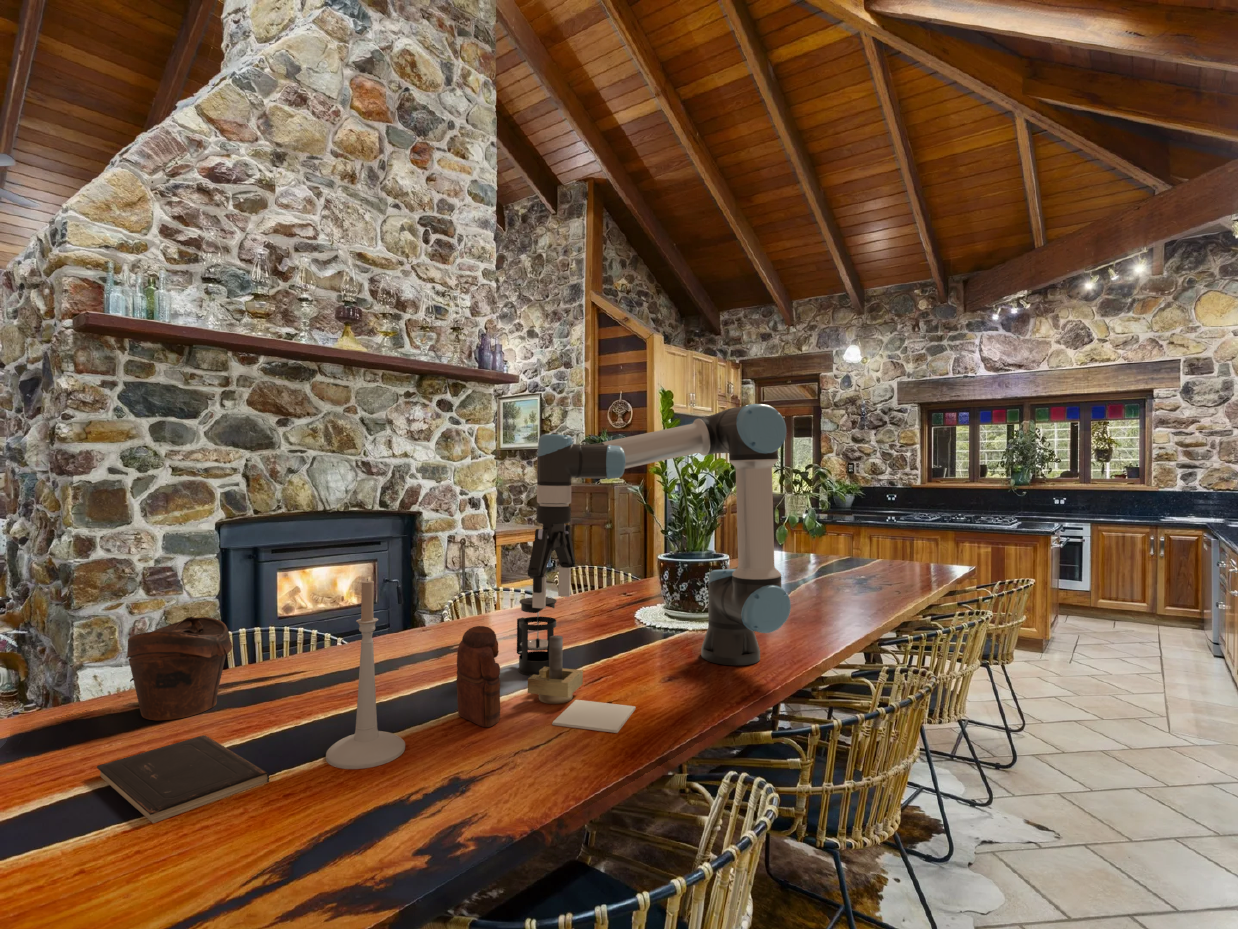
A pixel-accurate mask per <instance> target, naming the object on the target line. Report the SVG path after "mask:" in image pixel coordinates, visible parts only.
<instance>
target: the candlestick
mask: <svg viewBox="0 0 1238 929" xmlns="http://www.w3.org/2000/svg"><path fill="white" fill-rule="evenodd" d="M374 584H375V582H374V580H369V579H368V578H367V579H366V580H363V581H361V591H360V592H361V593H360V594H361V598H360V599H361V600H360V601H361V604H360V607H361V610H360V611H361V612H360V614H361V617H360V618H359V619H357V620H356V621H355V622H357V623H358V625H359V627H358V630H359V632H360V633H361V637H362V638H361V641H360V655H359V672H358V673H359V674H358V687H357V688H358V689H357V700H356V703H357V704H356V705H357V706H356V718H355V719H356V720H355V730H354V734H351V735H347V736H345V737H343V738H341V739H339V740H337V741H336V742H335V743H333V744H332V745H331V746H330V747H329V748H328V749H327V750H326V752H325V760H326V763H327V764H328V765H330V766H331V767H335V768H338V769H343V770H344V769H345V770H359V769H369V768H374V767H378V766H382V765H385V764H387V763H390V762H393V761H394V760H396V759H397V758H399V757H400V756H402V754H404V752H405V750H406V742H405V740H404V739H403V738H402V737H400V736H399V735H397V734H395V733H393V732H389V731H382V730H379V729H378V718H377V717H378V716H377V701H376V700H377V697H376V695H377V694H376V693H377V692H376V677H375V676H376V674H375V654H374V653H375V651H374V650H375V649H374V640H373V633H374V631H375V630H376V622H378V621H379V618H377V617H374V599H375V598H374V597H375V596H374V595H375V594H374V592H375V591H374V590H375V586H374Z"/></svg>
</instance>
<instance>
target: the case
mask: <svg viewBox="0 0 1238 929" xmlns="http://www.w3.org/2000/svg"><path fill="white" fill-rule="evenodd" d="M126 650H127V651H126V652H127V653H126V659H128V662H129V667H130V672H131V675H132V678H130V681H129V682H130V683H131V682H132V681H133V684H134V688H135V689H134V690H135V694H136V698H137V702H138V705H139V711H140V715H141V718H143V719H146V720H148V721H156V722H157V721H170V720H171V721H172V720H179V719H183V718H188V717H192V716H195V715H198V714H201V713H204V712H206V711H208V710H210V709H212V708H214V707H215V706H216V705H217V702H218V693H219V688H220V683H221V678H222V675H223V669H224V665H225V660H226V657H227V656H226V655H228V654H229V653H231V651H232V650H233V643H232V640H231V637H230V632H229V628H228V627H227V625H226V624H225V622H223V621H221V620H219V619H217V618H213V617H208V616H205V617H203V616H202V617H195V616H189V617H186V618H184V619H182V620H181V621H176V622H174V623H171V624H169V625H165V626H163V627H160V628H159V627H158V628H157V629H155V630H151V631H147V632H142V633H138V634H135V635H132V636H130V637H128V638H127V649H126Z"/></svg>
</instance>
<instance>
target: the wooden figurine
mask: <svg viewBox="0 0 1238 929" xmlns="http://www.w3.org/2000/svg"><path fill="white" fill-rule="evenodd" d="M499 652H500V650H499V641H498V639H497V634H496V633H495V631H494V630H493V629H492V628H491V627H490V626H485V625H476V626H473V627H470V628H469V629H467V630H466V631H465V632H464V633H463V635H462V637H461V641H460V642H459V645H458V647H457V652H456V653H457V654H456V655H457V656H456V668H457V670H456V692H457V694H456V696H457V699H456V700H457V701H456V702H457V714H458V715H459V717H461V718H462V719H464V720H467V721H469V722H471V723H474V724H476V725H477V726H479V727H481V728H490V727H493V726H494V725H497V723H499V721H500V719H501V678H500V675H501V666H500V664H499V663H498V662H496V659H495V658H497V657H498V655H499Z"/></svg>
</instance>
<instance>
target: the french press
mask: <svg viewBox="0 0 1238 929" xmlns="http://www.w3.org/2000/svg"><path fill="white" fill-rule="evenodd" d="M544 577H546V579H547V578H548V577H547V576H546V575H545V574H544ZM529 578H530V579H533V577H529ZM532 601H533V596H532V597H526V598H522V599H520V600H519V604H520V607H521V608H520V611H521V612H525V613H530V614H531V613H532V614H536V616H530V617H529V616H528V617H519V618H517V619H516V655H519V656H518V669H517V671H518V672H519V674H522V675H525V676H529V677H531V676H532V675H539V670H540V669H542V668H543V667H549V643H550V636H555V635H554V631H555V630H554V629H555V628H557V619H556V618H554V617H549V616H540V612H541V611H543V609H542V608H532ZM556 603H557V599H556V598H552V597H548V596H546V607H548V608H553V609H555V608H556V607H555V606H556ZM541 622H542V623H545V624H540V623H541ZM529 623H536V624H529ZM529 631H536V639H535V638H534V639H529ZM540 631H547V632H546V635H547V636H546V637H547V638H546V639H545V638H542V639H541V638H539V636H540V635H539V632H540Z"/></svg>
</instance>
